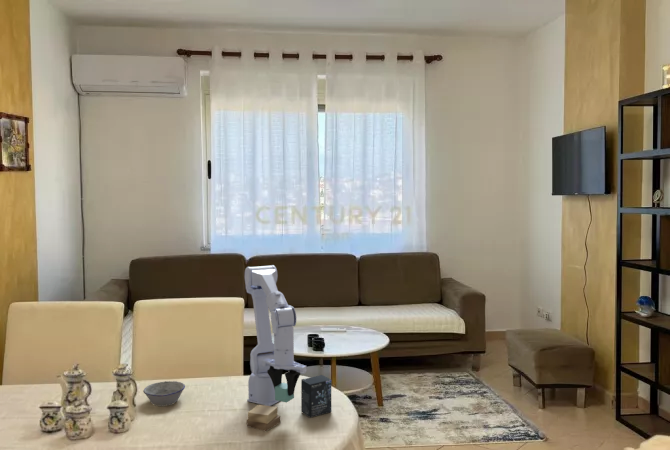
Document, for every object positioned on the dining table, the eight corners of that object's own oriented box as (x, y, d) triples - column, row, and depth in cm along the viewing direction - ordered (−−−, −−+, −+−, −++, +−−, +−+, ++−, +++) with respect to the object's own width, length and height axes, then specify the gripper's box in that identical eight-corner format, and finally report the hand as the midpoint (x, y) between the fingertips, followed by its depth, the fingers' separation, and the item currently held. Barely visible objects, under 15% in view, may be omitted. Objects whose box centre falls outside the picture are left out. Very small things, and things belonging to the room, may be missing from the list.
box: (310, 418, 174) (310, 384, 173) (301, 412, 178) (300, 379, 178) (332, 412, 178) (331, 379, 177) (322, 406, 183) (322, 374, 182)
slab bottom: (247, 428, 169) (246, 419, 168) (261, 419, 175) (261, 411, 174) (266, 433, 165) (265, 424, 165) (280, 424, 171) (280, 416, 171)
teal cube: (275, 400, 170) (274, 386, 169) (283, 395, 173) (282, 382, 173) (286, 402, 168) (286, 389, 167) (294, 398, 171) (293, 384, 171)
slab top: (248, 420, 168) (247, 412, 168) (258, 412, 174) (258, 404, 174) (267, 423, 166) (267, 415, 165) (277, 415, 172) (277, 407, 171)
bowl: (177, 409, 181) (176, 394, 181) (137, 408, 182) (137, 394, 182) (190, 394, 194) (190, 380, 194) (153, 393, 195) (153, 379, 195)
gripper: (255, 348, 169) (256, 393, 171) (296, 355, 162) (297, 402, 163) (270, 342, 176) (270, 385, 177) (310, 349, 168) (310, 394, 169)
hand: (284, 393), depth 170 cm, fingers closed on teal cube, 4 cm apart
